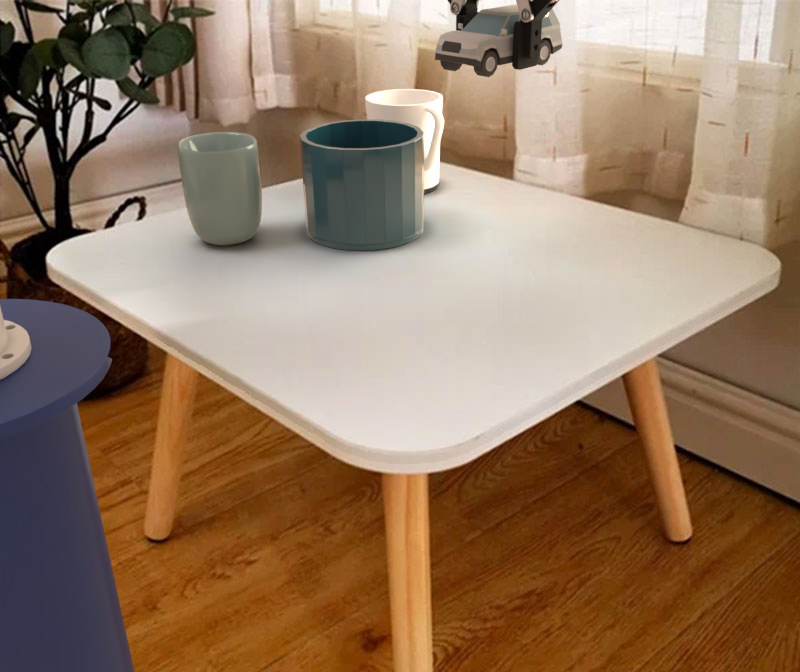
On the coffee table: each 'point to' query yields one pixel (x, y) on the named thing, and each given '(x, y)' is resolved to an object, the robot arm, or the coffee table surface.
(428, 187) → the mug
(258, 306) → the coffee table surface
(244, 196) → the cup
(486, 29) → the toy car
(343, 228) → the teal plant pot
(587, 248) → the coffee table surface
